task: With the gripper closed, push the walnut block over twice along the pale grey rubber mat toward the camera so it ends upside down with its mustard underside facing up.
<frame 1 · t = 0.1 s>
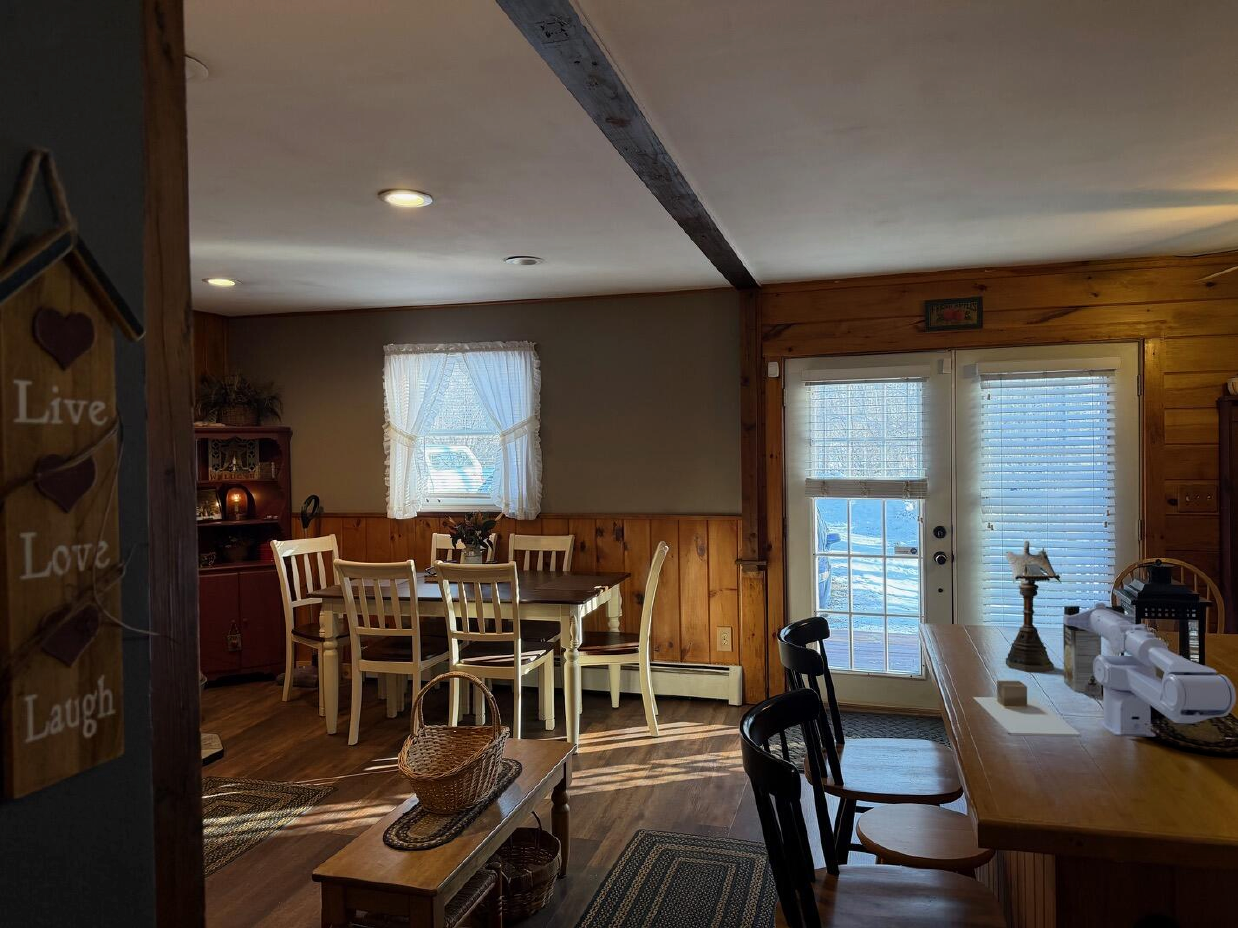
hand: (1082, 610, 200), 22 cm above the counter, tool horizontal, fingers open, 7 cm apart
flip block: (1012, 704, 197), point 1 cm above the counter, touching mat
coffee box: (1082, 690, 210), on the counter
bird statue: (1035, 669, 231), on the counter
mat: (1022, 716, 190), on the counter
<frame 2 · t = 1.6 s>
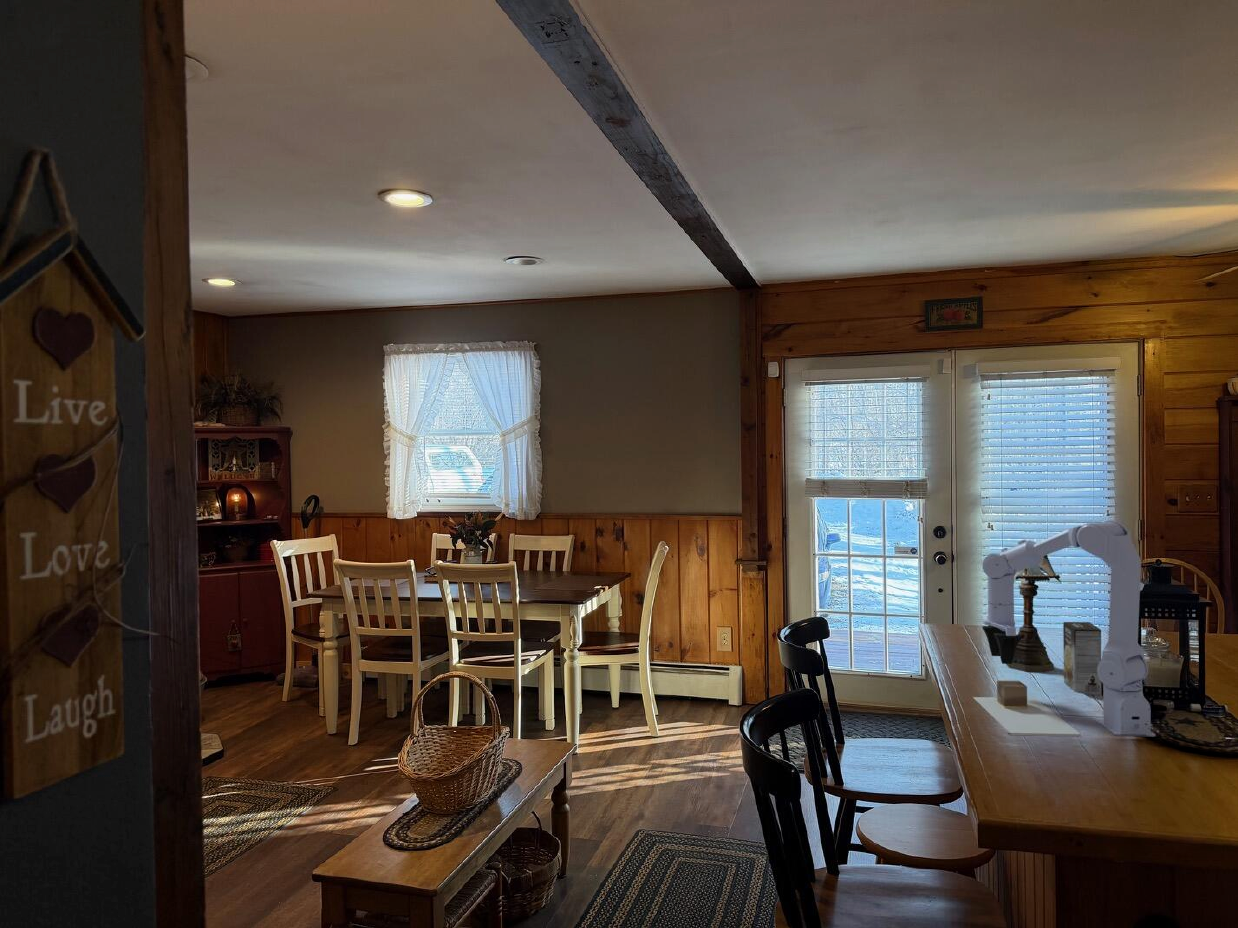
hand: (1001, 659, 204), 9 cm above the counter, tool pointing down, fingers open, 7 cm apart
nothing on the counter moved.
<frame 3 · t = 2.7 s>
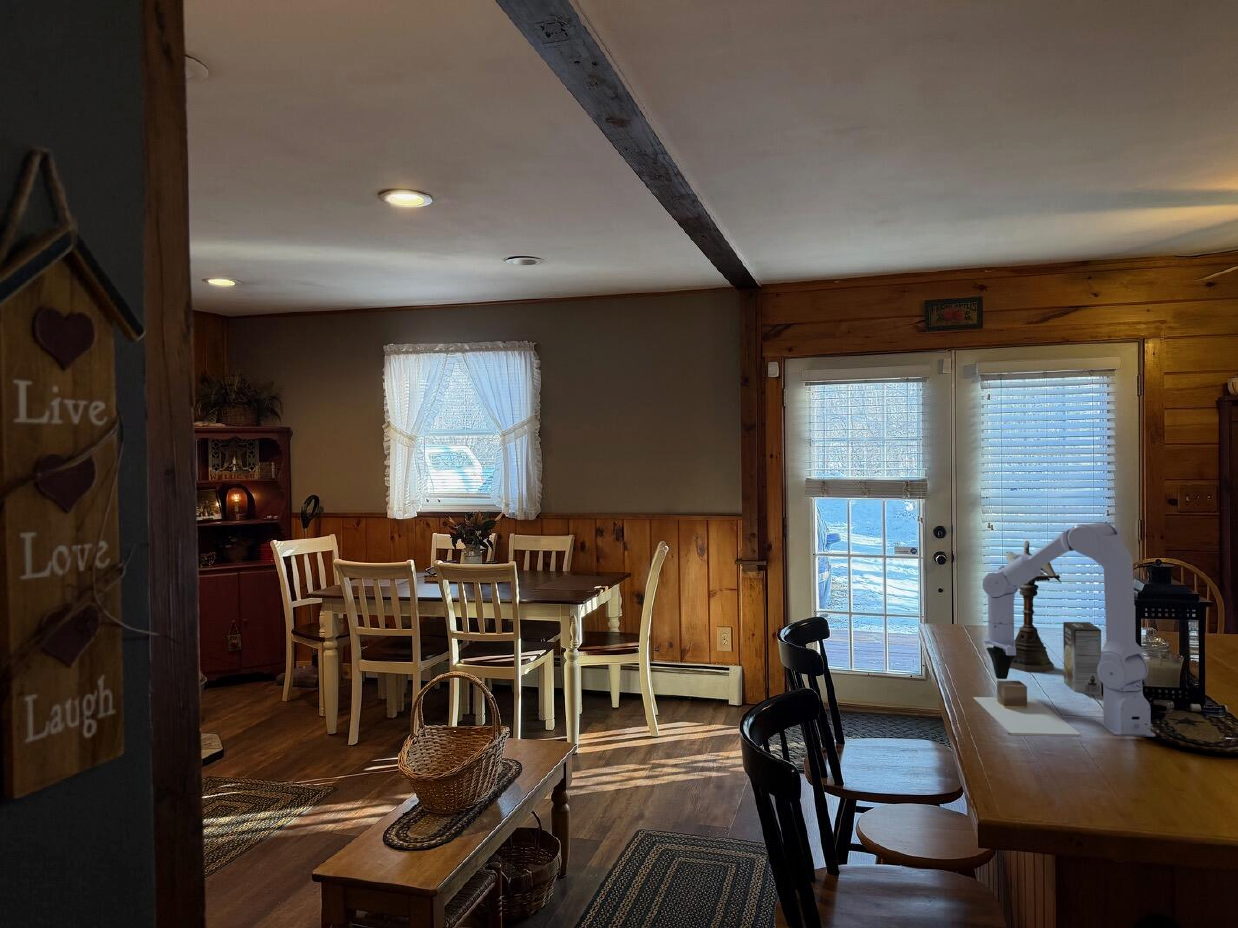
hand: (1001, 678, 204), 5 cm above the counter, tool pointing down, fingers closed
nothing on the counter moved.
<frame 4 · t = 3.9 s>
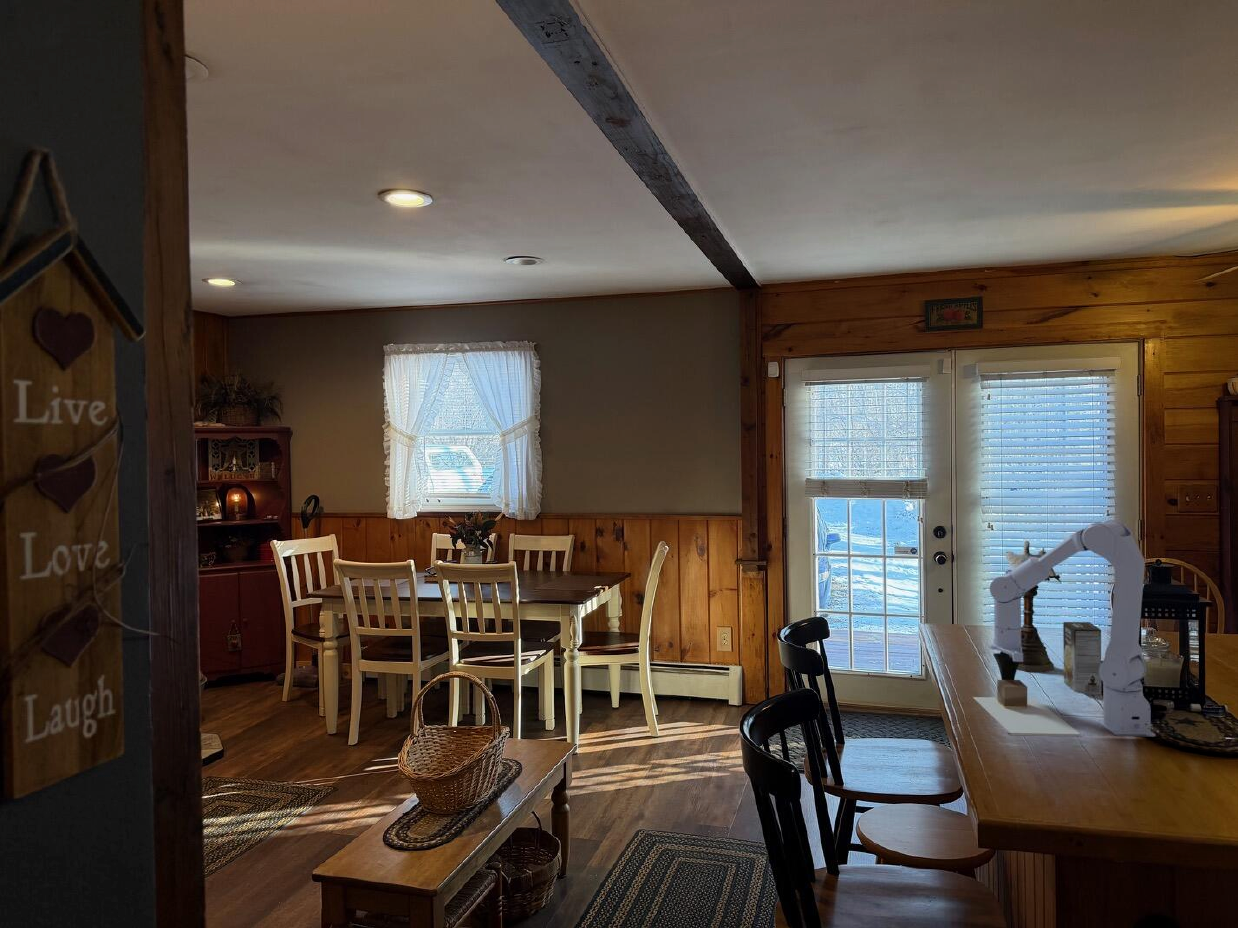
hand: (1007, 684, 199), 5 cm above the counter, tool pointing down, fingers closed, pressing on flip block
flip block: (1012, 704, 197), point 1 cm above the counter, touching gripper, mat
everything else where it was.
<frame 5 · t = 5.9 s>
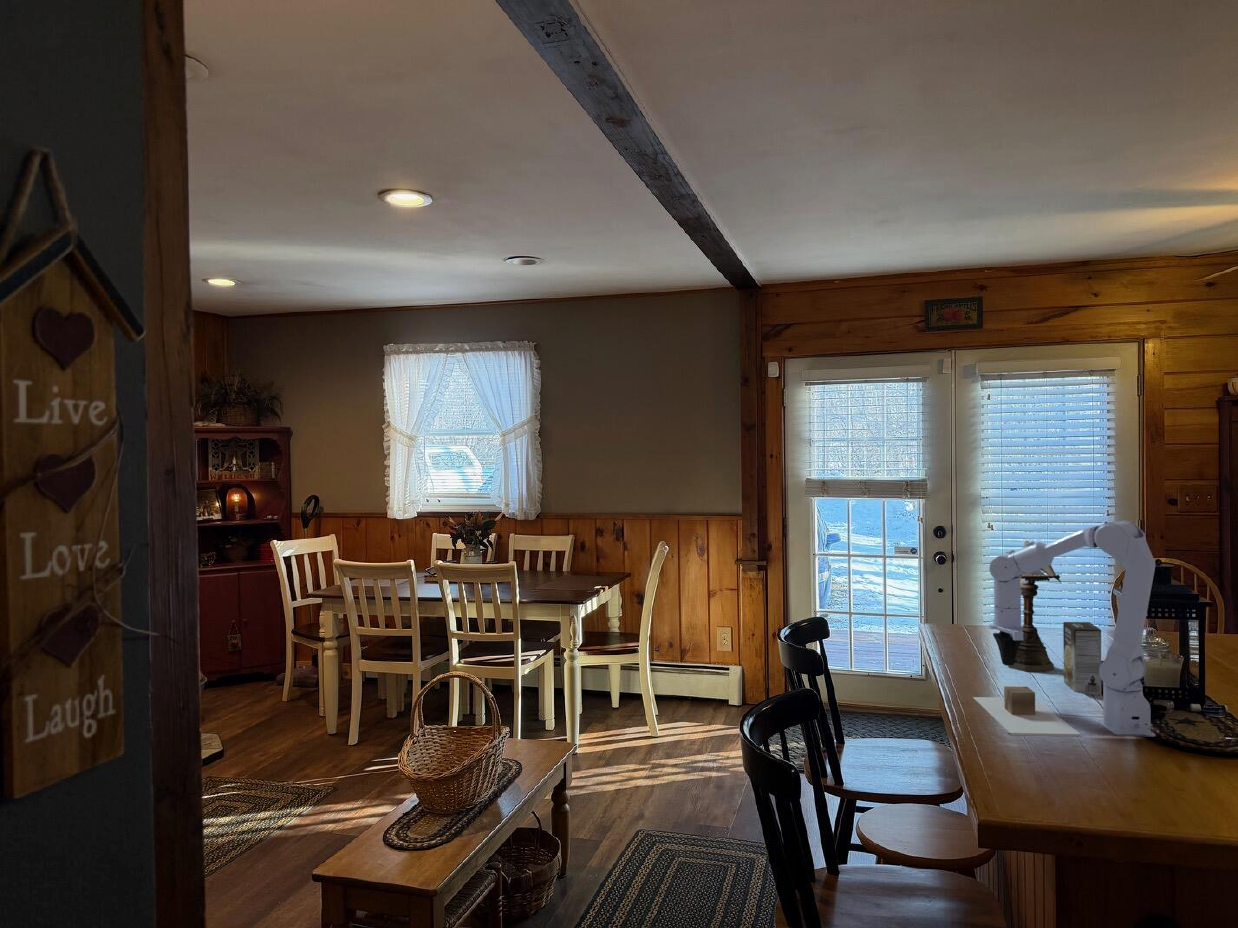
hand: (1008, 664, 199), 9 cm above the counter, tool pointing down, fingers closed
flip block: (1015, 697, 194), point 3 cm above the counter, tilted 90°, touching mat
everything else where it was.
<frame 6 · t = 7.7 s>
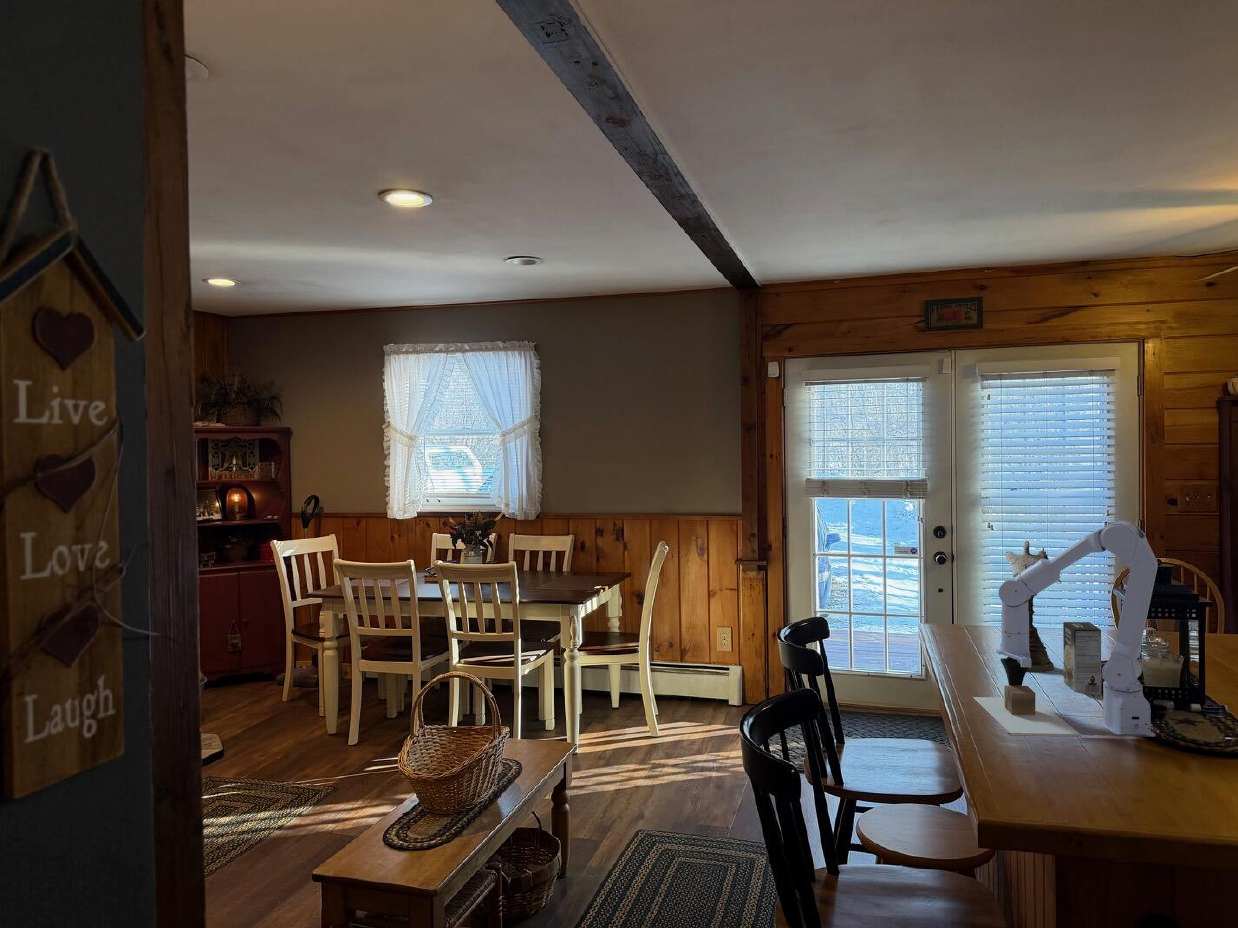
hand: (1015, 690, 194), 5 cm above the counter, tool pointing down, fingers closed, pressing on flip block
flip block: (1015, 696, 194), point 3 cm above the counter, tilted 94°, touching gripper, mat
everything else where it was.
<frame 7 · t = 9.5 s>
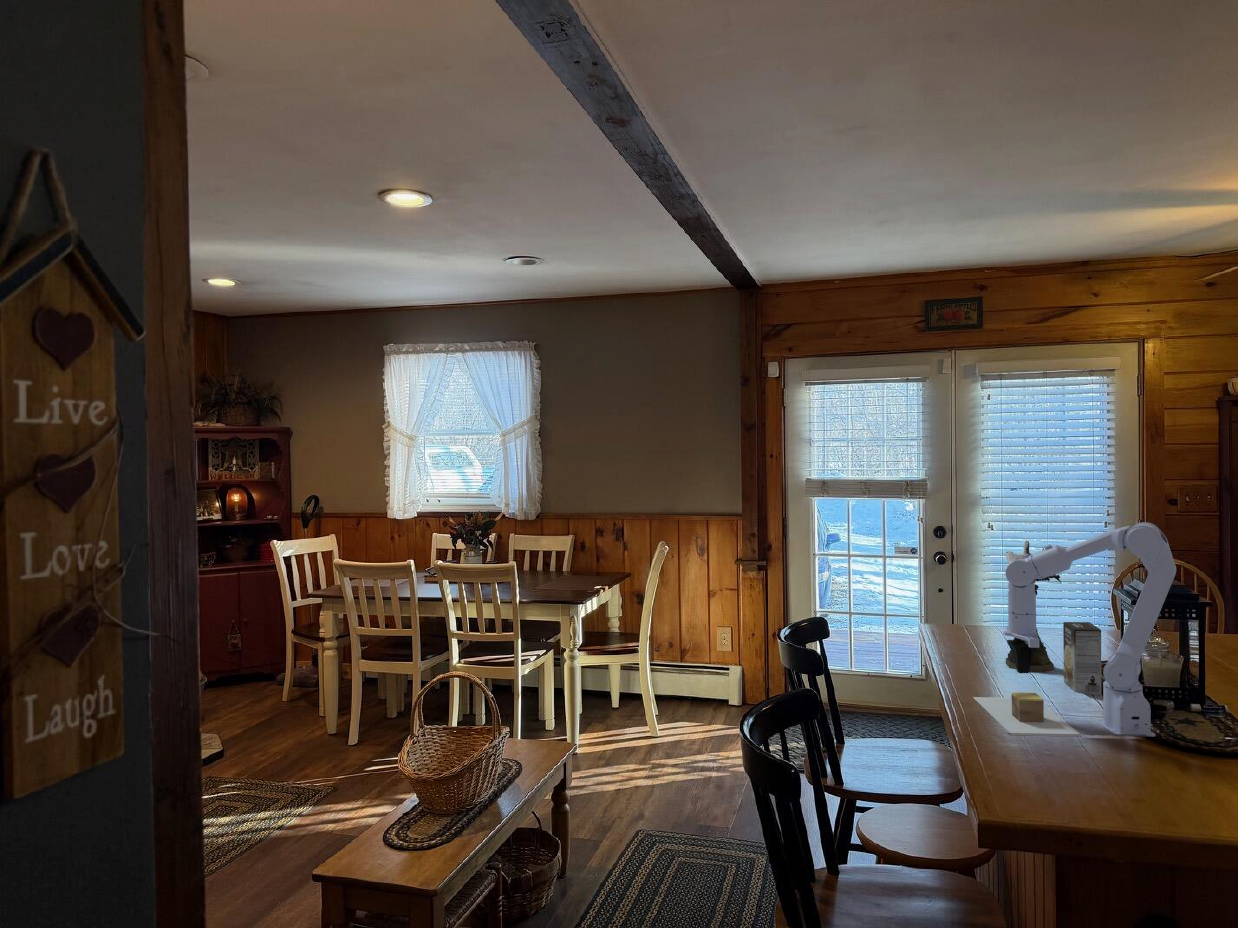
hand: (1022, 672, 192), 9 cm above the counter, tool pointing down, fingers closed
flip block: (1027, 695, 187), point 6 cm above the counter, tilted 180°, touching mat
everything else where it was.
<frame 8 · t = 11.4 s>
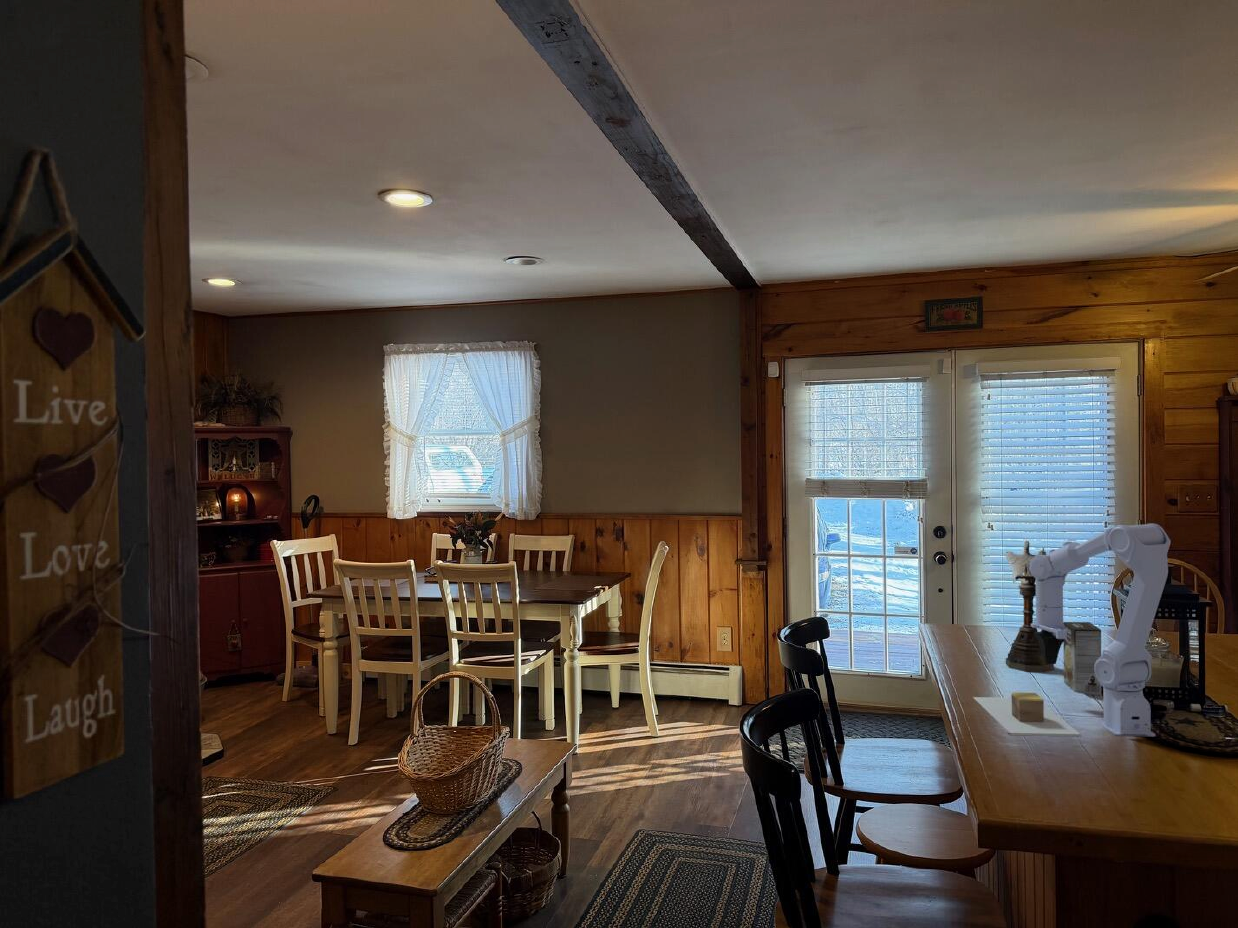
hand: (1050, 663, 200), 9 cm above the counter, tool pointing down, fingers closed
nothing on the counter moved.
at the end: flip block tilted 180°; flip block inside the target area (0.0 cm from its centre), point 5.6 cm above the counter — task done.
